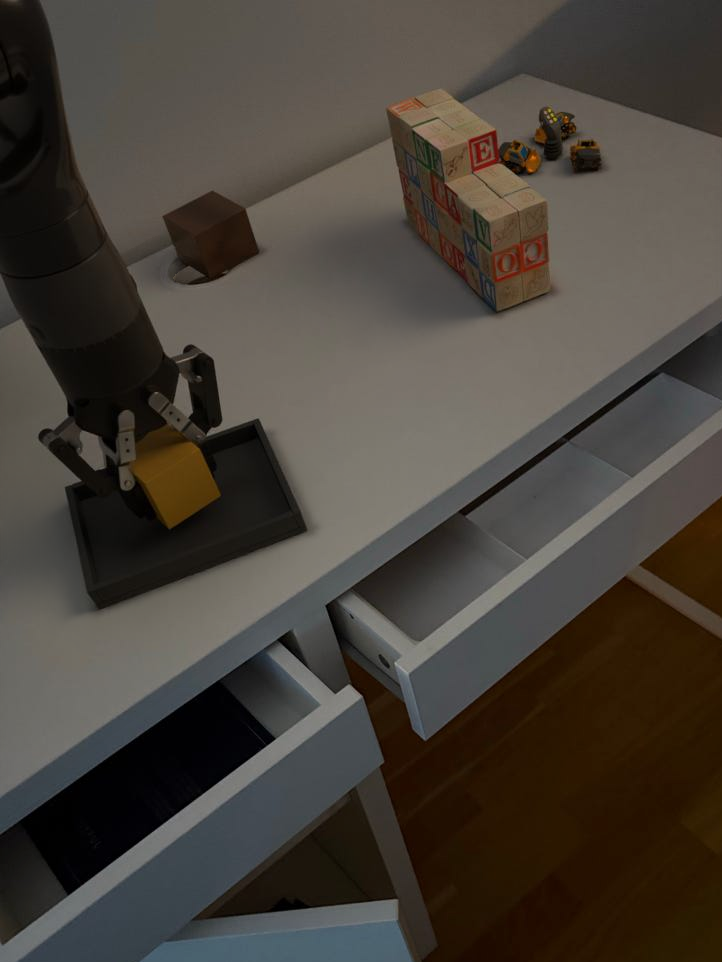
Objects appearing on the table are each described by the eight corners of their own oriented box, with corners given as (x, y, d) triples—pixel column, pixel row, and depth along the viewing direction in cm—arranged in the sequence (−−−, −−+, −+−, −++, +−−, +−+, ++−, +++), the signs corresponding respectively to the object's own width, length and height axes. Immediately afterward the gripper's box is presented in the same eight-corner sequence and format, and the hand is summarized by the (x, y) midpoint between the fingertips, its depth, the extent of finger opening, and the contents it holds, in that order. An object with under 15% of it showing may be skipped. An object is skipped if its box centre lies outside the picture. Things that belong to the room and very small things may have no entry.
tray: (98, 609, 72) (86, 592, 71) (75, 504, 80) (64, 486, 79) (307, 530, 75) (300, 512, 73) (265, 436, 83) (258, 417, 81)
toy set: (557, 197, 102) (555, 152, 98) (486, 167, 108) (482, 124, 104) (631, 152, 106) (632, 108, 103) (559, 126, 112) (558, 83, 108)
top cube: (169, 529, 74) (144, 483, 70) (137, 501, 76) (112, 454, 72) (221, 495, 76) (199, 448, 72) (188, 468, 78) (166, 421, 74)
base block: (210, 279, 100) (194, 235, 96) (179, 259, 103) (161, 216, 99) (259, 252, 102) (245, 208, 98) (227, 233, 105) (212, 190, 101)
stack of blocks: (553, 292, 91) (546, 165, 82) (496, 314, 90) (483, 189, 80) (456, 203, 104) (440, 84, 94) (406, 222, 103) (384, 104, 93)
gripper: (146, 244, 67) (224, 430, 80) (-38, 341, 62) (78, 522, 75) (202, 280, 63) (274, 469, 76) (11, 386, 58) (124, 568, 71)
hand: (176, 494), depth 76 cm, fingers closed on top cube, 5 cm apart
